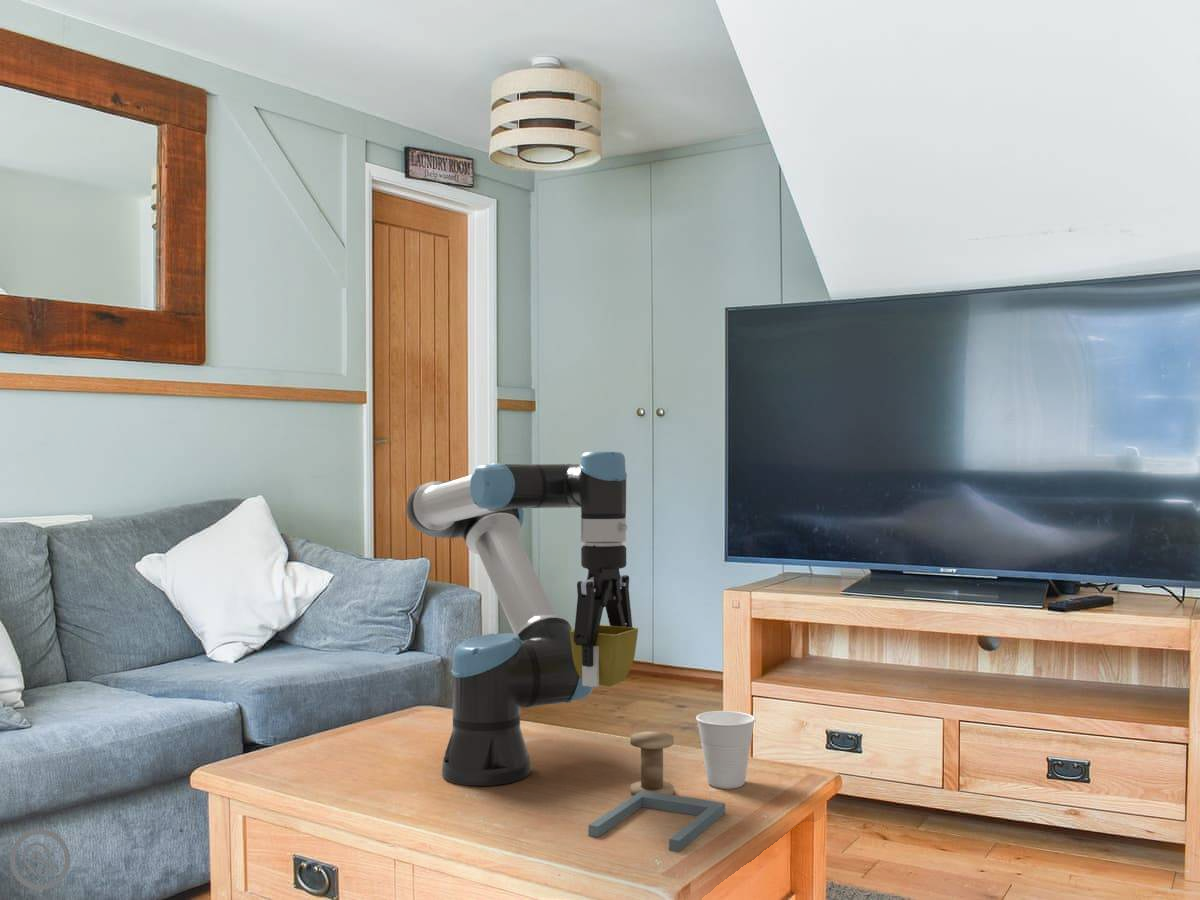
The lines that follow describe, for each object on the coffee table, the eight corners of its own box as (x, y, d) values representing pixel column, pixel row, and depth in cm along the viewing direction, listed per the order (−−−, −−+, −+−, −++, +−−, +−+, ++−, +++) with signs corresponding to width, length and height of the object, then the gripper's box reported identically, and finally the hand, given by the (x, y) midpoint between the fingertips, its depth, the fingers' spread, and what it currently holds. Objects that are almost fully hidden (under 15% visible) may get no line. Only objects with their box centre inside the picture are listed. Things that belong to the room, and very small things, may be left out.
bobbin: (623, 795, 163) (622, 739, 163) (641, 784, 169) (641, 729, 169) (663, 802, 159) (662, 744, 160) (680, 789, 166) (680, 734, 166)
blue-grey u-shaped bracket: (679, 851, 138) (679, 840, 138) (588, 835, 144) (588, 824, 145) (725, 812, 154) (725, 803, 154) (641, 799, 160) (641, 790, 161)
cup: (754, 794, 163) (754, 725, 163) (693, 791, 165) (692, 723, 165) (757, 777, 173) (757, 712, 173) (699, 773, 175) (699, 709, 175)
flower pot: (639, 681, 170) (639, 627, 170) (616, 690, 162) (616, 634, 162) (593, 676, 174) (592, 624, 174) (568, 686, 166) (568, 630, 166)
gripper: (591, 548, 157) (592, 695, 157) (652, 541, 176) (653, 672, 175) (550, 547, 161) (551, 690, 160) (614, 540, 180) (615, 668, 179)
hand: (604, 681), depth 168 cm, fingers closed on flower pot, 8 cm apart
